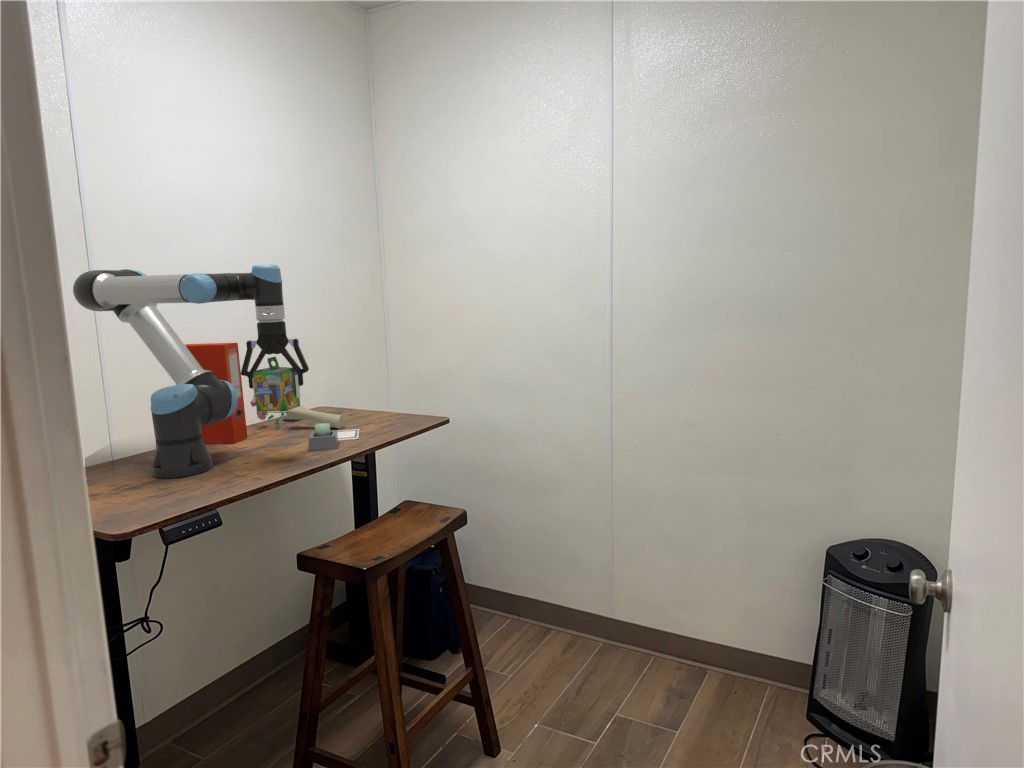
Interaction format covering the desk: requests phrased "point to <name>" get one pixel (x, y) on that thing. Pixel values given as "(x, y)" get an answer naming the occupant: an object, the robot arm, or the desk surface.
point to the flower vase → (305, 416)
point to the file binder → (227, 368)
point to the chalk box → (275, 388)
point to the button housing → (323, 441)
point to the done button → (322, 429)
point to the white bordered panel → (348, 434)
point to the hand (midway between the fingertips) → (277, 398)
